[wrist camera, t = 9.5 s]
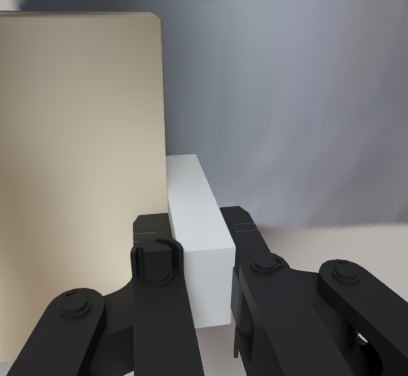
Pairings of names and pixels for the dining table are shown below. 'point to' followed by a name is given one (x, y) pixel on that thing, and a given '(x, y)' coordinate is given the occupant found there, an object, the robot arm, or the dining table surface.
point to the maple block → (74, 155)
